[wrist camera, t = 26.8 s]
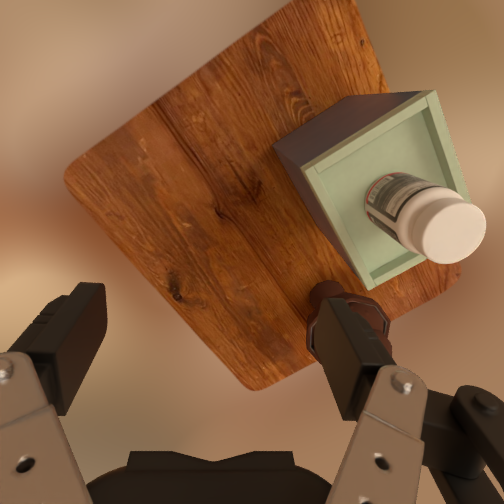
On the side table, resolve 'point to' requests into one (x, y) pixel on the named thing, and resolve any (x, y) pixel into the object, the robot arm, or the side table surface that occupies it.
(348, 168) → the tray
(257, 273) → the side table surface
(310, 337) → the ice cream bowl
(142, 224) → the side table surface
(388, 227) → the pill bottle
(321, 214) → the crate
